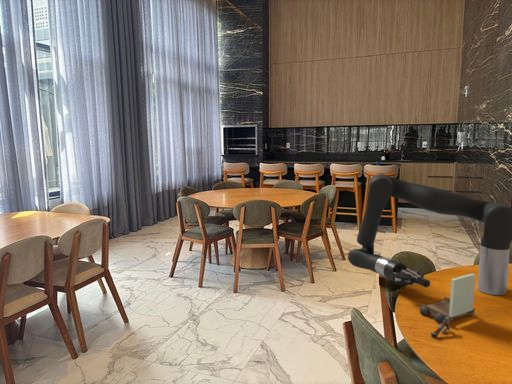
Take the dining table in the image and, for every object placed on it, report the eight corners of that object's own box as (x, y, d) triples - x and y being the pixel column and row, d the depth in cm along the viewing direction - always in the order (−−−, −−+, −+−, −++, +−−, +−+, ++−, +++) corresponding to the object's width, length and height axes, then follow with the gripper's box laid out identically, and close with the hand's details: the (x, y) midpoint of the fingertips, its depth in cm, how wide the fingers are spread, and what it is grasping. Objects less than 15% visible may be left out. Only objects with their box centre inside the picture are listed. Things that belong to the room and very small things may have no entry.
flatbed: (447, 304, 132) (447, 296, 132) (476, 317, 123) (476, 308, 122) (418, 313, 126) (419, 305, 125) (447, 327, 117) (447, 318, 116)
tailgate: (469, 308, 122) (472, 273, 121) (472, 310, 122) (475, 274, 120) (449, 315, 118) (451, 279, 116) (451, 317, 117) (454, 280, 115)
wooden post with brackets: (453, 328, 115) (450, 317, 113) (439, 345, 111) (436, 334, 110) (447, 325, 116) (445, 314, 115) (433, 343, 113) (430, 332, 111)
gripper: (377, 262, 142) (415, 277, 126) (403, 256, 148) (442, 270, 132) (376, 281, 143) (414, 298, 128) (402, 275, 149) (441, 290, 133)
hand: (428, 284), depth 130 cm, fingers closed
